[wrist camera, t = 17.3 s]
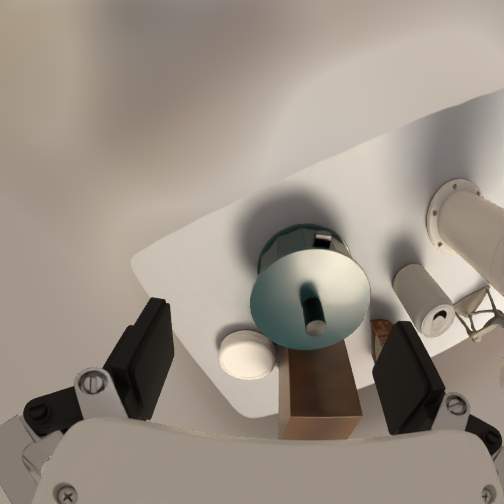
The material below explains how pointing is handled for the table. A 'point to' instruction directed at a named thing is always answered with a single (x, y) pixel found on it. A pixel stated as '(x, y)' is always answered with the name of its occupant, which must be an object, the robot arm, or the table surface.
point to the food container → (379, 335)
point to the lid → (310, 298)
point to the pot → (300, 242)
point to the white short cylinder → (247, 355)
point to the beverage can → (424, 300)
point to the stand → (317, 394)
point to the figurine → (468, 309)
